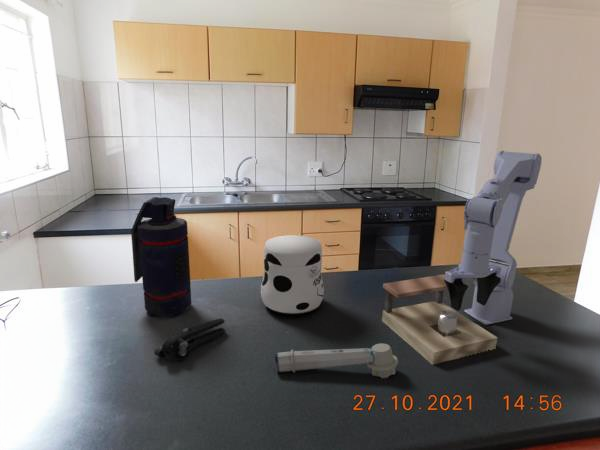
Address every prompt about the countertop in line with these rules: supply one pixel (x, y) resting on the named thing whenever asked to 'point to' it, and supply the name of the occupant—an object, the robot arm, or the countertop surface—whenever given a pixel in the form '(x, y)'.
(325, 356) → the toothbrush head
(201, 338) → the can opener
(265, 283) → the milk container
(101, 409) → the countertop surface
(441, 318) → the steel peg
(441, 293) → the socket block
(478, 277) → the robot arm
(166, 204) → the grenade
